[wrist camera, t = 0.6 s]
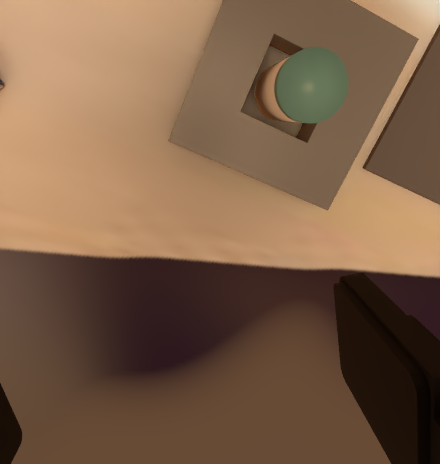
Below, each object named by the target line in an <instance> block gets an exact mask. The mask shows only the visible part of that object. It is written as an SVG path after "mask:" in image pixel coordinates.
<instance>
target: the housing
mask: <svg viewBox="0 0 440 464" xmlns="http://www.w3.org/2000/svg"><path fill="white" fill-rule="evenodd" d="M417 41H418V38H416V37H414V36H413V35H411V34H409V33H407V32H405V31H404V30H402V29H400V28H398V27H397V26H395V25H393V24H391V23H390V22H388V21H386V20H384V19H382V18H381V17H379V16H377V15H375V14H374V13H372V12H370V11H368V10H367V9H365V8H363V7H361V6H359V5H358V4H356V3H354V2H352V1H351V0H223V2H222V5H221V7H220V10H219V13H218V15H217V18H216V20H215V23H214V25H213V28H212V30H211V33H210V36H209V38H208V41H207V43H206V46H205V48H204V51H203V53H202V56H201V59H200V61H199V64H198V66H197V69H196V71H195V74H194V77H193V79H192V82H191V84H190V87H189V89H188V92H187V94H186V97H185V100H184V102H183V105H182V107H181V110H180V112H179V115H178V117H177V120H176V123H175V125H174V128H173V130H172V133H171V135H170V138H169V140H168V141H170V142H172V143H174V144H176V145H179V146H181V147H183V148H186V149H188V150H190V151H192V152H195V153H197V154H199V155H202V156H204V157H206V158H209V159H211V160H213V161H215V162H218V163H220V164H222V165H225V166H227V167H229V168H231V169H234V170H236V171H238V172H241V173H243V174H245V175H248V176H250V177H252V178H254V179H257V180H259V181H261V182H264V183H266V184H268V185H270V186H273V187H275V188H277V189H280V190H282V191H284V192H286V193H289V194H291V195H293V196H296V197H298V198H300V199H303V200H305V201H307V202H309V203H312V204H314V205H316V206H319V207H321V208H323V209H325V210H328V209H329V207H330V205H331V204H332V202H333V200H334V198H335V196H336V194H337V192H338V190H339V188H340V187H341V185H342V183H343V181H344V179H345V177H346V175H347V173H348V171H349V170H350V168H351V166H352V164H353V162H354V160H355V158H356V156H357V154H358V153H359V151H360V149H361V147H362V145H363V143H364V141H365V139H366V137H367V136H368V134H369V132H370V130H371V128H372V126H373V124H374V122H375V121H376V119H377V117H378V115H379V113H380V111H381V109H382V107H383V105H384V104H385V102H386V100H387V98H388V96H389V94H390V92H391V90H392V88H393V87H394V85H395V83H396V81H397V79H398V77H399V75H400V73H401V71H402V70H403V68H404V66H405V64H406V62H407V60H408V58H409V56H410V54H411V53H412V51H413V49H414V47H415V45H416V43H417ZM269 44H270V45H272V46H273V47H275V48H277V49H279V50H281V51H283V52H285V53H287V54H289V55H293V54H295V53H297V52H298V51H301V50H303V49H305V48H309V47H322V48H326V49H328V50H331V51H332V52H334V53H335V54H336V55H337V56H338V57H339V58H340V59H341V60H342V62H343V63H344V65H345V67H346V70H347V74H348V91H347V95H346V98H345V100H344V102H343V104H342V106H341V107H340V108H339V110H338V111H337V112H336V113H335V114H334V115H333V116H331V117H330V118H328V119H327V120H324V121H322V122H319V123H311V124H309V123H303V125H302V128H301V130H300V132H299V134H298V136H297V138H295V137H293V136H291V135H289V134H287V133H285V132H282V131H280V130H278V129H276V128H274V127H272V126H270V125H268V124H265V123H263V122H261V121H259V120H257V119H255V118H253V117H250V116H248V115H246V114H244V113H242V112H240V111H241V109H242V106H243V104H244V102H245V99H246V97H247V95H248V92H249V90H250V88H251V86H252V83H253V81H254V79H255V76H256V74H257V72H258V69H259V67H260V65H261V62H262V60H263V58H264V56H265V53H266V51H267V49H268V46H269Z"/></svg>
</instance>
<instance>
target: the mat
mask: <svg viewBox="0 0 440 464" xmlns="http://www.w3.org/2000/svg"><path fill="white" fill-rule="evenodd" d="M363 168H364V169H366V170H368V171H370V172H372V173H374V174H376V175H378V176H381V177H383V178H385V179H387V180H389V181H391V182H393V183H395V184H398V185H400V186H402V187H404V188H406V189H408V190H410V191H413V192H415V193H417V194H419V195H421V196H423V197H425V198H427V199H430V200H432V201H434V202H436V203H438V204H440V25H439V27H438V29H437V31H436V33H435V35H434V37H433V38H432V40H431V42H430V44H429V46H428V48H427V50H426V51H425V53H424V55H423V57H422V59H421V61H420V63H419V64H418V66H417V68H416V70H415V72H414V74H413V76H412V77H411V79H410V81H409V83H408V85H407V87H406V89H405V90H404V92H403V94H402V96H401V98H400V100H399V102H398V103H397V105H396V107H395V109H394V111H393V113H392V115H391V116H390V118H389V120H388V122H387V124H386V126H385V128H384V129H383V131H382V133H381V135H380V137H379V139H378V141H377V142H376V144H375V146H374V148H373V150H372V152H371V154H370V155H369V157H368V159H367V161H366V163H365V165H364V166H363Z"/></svg>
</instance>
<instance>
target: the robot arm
mask: <svg viewBox="0 0 440 464" xmlns="http://www.w3.org/2000/svg"><path fill="white" fill-rule="evenodd" d="M334 298H335V309H336V320H337V331H338V342H339V353H340V364H341V370H342V374H343V377H344V379H345V381H346V383H347V385H348V387H349V389H350V390H351V392H352V394H353V396H354V397H355V399H356V401H357V403H358V405H359V407H360V408H361V410H362V412H363V414H364V415H365V417H366V419H367V421H368V423H369V424H370V426H371V428H372V430H373V432H374V433H375V435H376V437H377V439H378V441H379V442H380V444H381V446H382V448H383V450H384V451H385V453H386V455H387V457H388V458H389V460H390V462H391V464H440V341H439V340H438V339H437V338H436V337H435V336H434V335H433V334H432V333H431V332H430V331H429V330H428V329H426V328H425V327H424V326H423V325H422V324H421V323H420V322H419V321H418V320H417V319H416V318H414V317H413V316H411V315H406V314H405V313H404V312H403V311H402V310H401V309H400V308H399V307H398V306H397V305H396V304H395V303H394V302H393V301H392V300H391V299H390V298H389V297H388V296H387V295H385V294H384V293H383V292H382V291H381V290H380V289H379V288H378V287H377V286H376V285H375V284H374V283H373V282H372V281H371V280H370V279H369V278H368V277H367V276H366V275H365V274H364V273H357V274H352V275H347V276H342V277H340V281H339V283H335V284H334ZM21 441H22V431H21V428H20V425H19V423H18V421H17V419H16V417H15V415H14V412H13V410H12V408H11V406H10V404H9V401H8V399H7V397H6V395H5V392H4V390H3V388H2V386H1V384H0V464H11V462H12V460H13V458H14V456H15V454H16V452H17V450H18V448H19V446H20V444H21Z"/></svg>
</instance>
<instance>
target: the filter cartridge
mask: <svg viewBox="0 0 440 464" xmlns="http://www.w3.org/2000/svg"><path fill="white" fill-rule="evenodd" d="M347 91H348V74H347V70H346V67H345V65H344V63H343V62H342V60H341V59H340V58H339V57H338V56H337V55H336V54H335V53H334V52H332V51H331V50H328V49H326V48H322V47H309V48H305V49H303V50H301V51H298V52H297V53H295V54H293V55H291V56H290V57H288V58H286V59H284V60H282V61H281V62H279V63H277V64H275V65H273V66H272V67H270V68H268V69H267V70H266V71H264V72H263V73H262V75H261V76H260V77H259V79H258V81H257V83H256V87H255V101H256V104H257V106H258V108H259V110H260V111H261V112H262V113H263V114H264V115H265V116H266V117H268V118H270V119H273V120H279V121H289V122H299V123H309V124H311V123H319V122H322V121H324V120H327V119H328V118H330V117H331V116H333V115H334V114H335V113H336V112H337V111H338V110H339V108H340V107H341V106H342V104H343V102H344V100H345V98H346V95H347Z"/></svg>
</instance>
